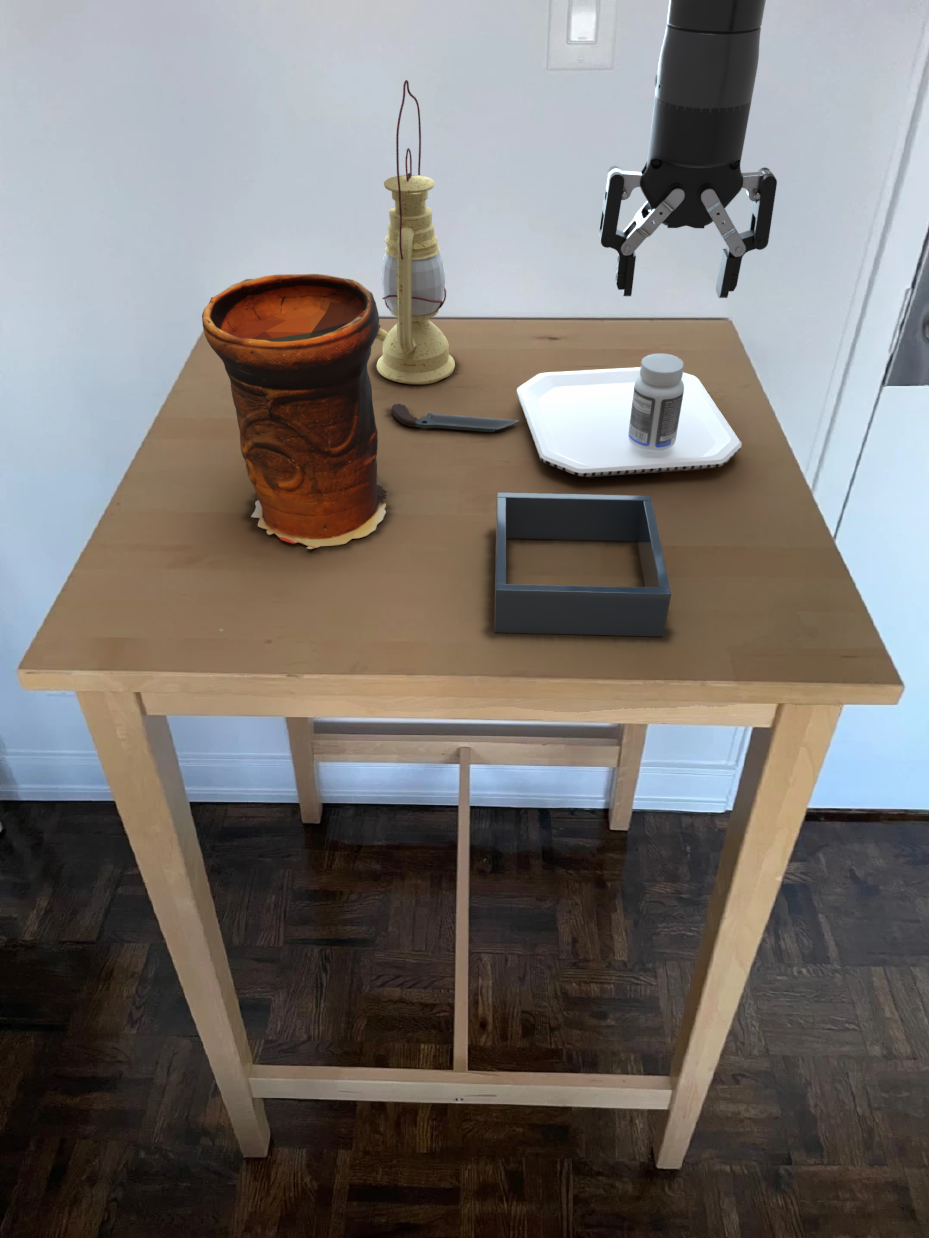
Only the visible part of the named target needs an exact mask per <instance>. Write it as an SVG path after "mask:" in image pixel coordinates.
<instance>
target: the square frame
mask: <svg viewBox="0 0 929 1238" xmlns="http://www.w3.org/2000/svg"><path fill="white" fill-rule="evenodd" d="M495 517H496V518H495V519H496V520H495V563H494V565H495V567H494V570H495V571H494V625H493V626H494V630H493V631H494V633H499V634H501V633H502V634H538V635H539V634H541V635H582V636H585V635H586V636H620V637H624V636H625V637H656V638H657V637H660V638H661V637H664V634H665V628H666V624H667V623H666V622H667V618H668V613H669V608H670V603H671V598H672V591H671V585H670V581H669V576H668V571H667V567H666V561H665V557H664V553H663V548H662V543H661V537H660V533H659V527H658V523H657V517H656V513H655V509H654V502H653V499H652V496H651V495H635V494H633V495H630V494H629V495H628V494H623V495H622V494H588V493H587V494H585V493H583V494H581V493H579V494H578V493H542V492H539V493H537V492H497V493H496V515H495ZM507 539H511V540H512V539H515V540H516V539H517V540H518V539H519V540H556V541H557V540H558V541H559V540H561V541H562V540H563V541H601V542H602V541H603V542H605V541H606V542H637V543H636V544H637V550H638V556H639V561H640V565H641V566H640V567H641V573H642V579H643V584H644V587H643V586H640V587H638V586H602V585H601V586H599V585H598V586H597V585H595V586H594V585H561V584H559V585H557V584H556V585H555V584H552V585H551V584H522V583H521V584H518V583H517V584H515V583H507Z"/></svg>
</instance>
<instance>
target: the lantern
mask: <svg viewBox="0 0 929 1238" xmlns="http://www.w3.org/2000/svg"><path fill="white" fill-rule="evenodd" d="M402 87H403V88H402V100H401V105H400V108H399V111H398V118H397V124H396V135H395V137H396V138H395V140H396V141H395V142H396V143H395V144H396V148H395V149H396V151H395V152H396V176H391V177H388V178H387V179H386V180H384V182H383V186H384V188H385V189H386V190H387V191H390V192H391V199H392V200H393V201H394V206H393V207H391V208H390V209H389V210H388V217H389V223H388V224H387V234H386V236H385V238H384V242H385V243H386V247H385V248H384V252H385V253H384V255H383V257H382V262H381V274H380V283H381V290H382V296H383V297H381V299H382V300H384V305H385V307H386V308H387V309H388V310H389V313H390V314H391V316H393V317H394V318H396V322H397V323H395V324H394V325H393V326H392V328H391V329H390V330H389V331H386V330H385V329H383V328H381V326H382V325H381V324H379V328H378V333H377V336H376V338H375V340H379V341H380V342H381V343H382V355H381V356H380V357H379V358H378V360H377V363H376V371H377V372H378V374H380V375H381V376H382V377H383V378H386V380H390V381H393V382H396V383H401V384H407V385H429V384H434V383H437V382H439V381H441V380H443V379H446V378H448V377H449V376H451V375H452V374H453V373H454V370H455V367H456V364H455V359H454V357H453V356H452V355H451V354H450V352H449V351H450V350H449V349H450V348H449V347H450V346H449V341H448V339H447V337H446V336H445V334H444V333H443V332H442V331H441V329H440V328H439V327H437V325H435V324H434V322H432V321H430V320H429V319H431V318H434V317H435V316H437V315H438V313H439V310H440V309H441V308H442V307H443V305H444V304H445V301H446V299H447V290H446V287H445V285H446V271H445V265H444V259H443V257H442V255H441V253H440V251H441V248H440V246H439V243H438V242H439V237H438V236H437V235H436V234H435V224H434V223H433V210H432V208H431V207H429V206H427V204H426V200H427V201H428V199H429V191H430V190H432V189H433V188H435V184H436V182H435V180H434V179H433V178H431V177H428V176H425V175H421V159H422V157H421V156H422V126H421V124H422V123H421V111H420V105H419V101H418V99H417V98H416V96H415V95H413V93H412V92H411V90H410V84H409V80H407V79H405V80H404V82H403V85H402ZM406 90H407V93H408V95H409V96H410V97H411V98H412V99H413V100H414V102H415V104H416V108H417V118H418V163H417V164H418V165H417V167H418V168H417V174H413V171H412V170H413V167H412V165H413V162H412V152H411V149H410V148H409V147H407V148H406V151H405V152H406V153H405V162H404V163H405V174H401V175H400V159H399V158H400V156H399V155H400V153H399V137H400V136H399V135H400V126H401V125H400V124H401V120H402V119H401V118H402V113H403V109H404V105H405V101H406ZM408 155H409V156H408ZM408 157H409V172H408Z"/></svg>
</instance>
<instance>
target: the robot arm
mask: <svg viewBox="0 0 929 1238" xmlns="http://www.w3.org/2000/svg"><path fill="white" fill-rule="evenodd" d="M668 1H669V2H668V10H667V16H666V17H667V18H666V25H665V32H664V35H663V36H664V37H663V40H662V44H661V49H660V54H659V59H658V65H657V72H656V75H655V77H654V78H655V79H654V87H655V91H654V98H653V99H654V100H653V107H652V119H651V125H650V126H651V127H650V132H649V133H650V135H649V141H648V151H647V158H646V162H645V164H644V166H643V168H642V169H641V171H632V170H631V171H630V170H622V168H621V167H620V166H619V165H612V166H610V167H609V168H608V170H607V174H606V180H605V187H604V195H603V199H602V200H603V201H602V206H601V214H600V221H599V227H598V235H599V240H600V244H601V246H602V247H604V248H606V249H609V248H610V249H613V250H615V251H616V252H617V257H616V266H615V275H614V280H615V284H616V288H617V290H619V291H621V293H622V297H632V293H633V286H634V285H633V284H634V276H635V267H636V260H637V256H636V255H637V254H636V250H637V249H638V248H639V247H640V246H641V245H642V243H643V242H644V241H645V240H646V239H647V238H649V237H651V236H652V235H653V234H654V233H655V231H656V230H657V229H658V228H660V226H661V225H663V226H666V228H667V229H678V228H682V227H688V228H689V227H690V228H693V229H705V227H706V226H709V225H710V224H712V223H713V224H714V225H715V227H716V229H717V230H718V232H719V234H720V236H721V237H722V239H723V241H724V242H725V244H726V247H725V248H722V251H721V257H720V262H719V268H718V274H717V279H716V285H715V292H716V295H717V297H718V299H728V297H729V293H730V292H734V291H735V290H736V288H737V286H738V281H739V276H740V271H741V270H740V269H741V265H742V261H743V257H744V256H745V254H746V253H748V252H751V251H754V250H758V251H762V250H764V249H766V248H767V246H768V245H769V240H770V234H771V227H772V219H773V212H774V206H775V205H774V204H775V199H776V193H777V186H778V180H777V178H776V176H775V174H774V173H773V172H772V171H771V170H770V168H768V167H765V166H764V167H761V168H759V169H758V170H757V171H755V172H754V171H752V172H751V171H749V172H742V170H741V163H742V162H741V161H742V157H743V151H744V145H745V140H746V134H747V128H748V123H749V117H750V113H751V112H750V111H751V106H752V100H753V95H754V94H753V93H754V91H755V84H756V77H757V73H758V66H759V56H760V40H761V32H762V25H763V18H764V12H765V7H766V2H767V0H668ZM636 188H640V191H641V193H642V194H643V196H644V198H645V200H646V201H645V202H644V203H643V205H642V206H641V207H640V208H639V210H638V211H637V212H636V213H635V215H634V216H633V219H632V220H631V221H630V222H629V224H628V225H627V226H626V227H625V229H624V230H623V231H622V230H620V229H618V224H619V218H620V211H621V205H622V201H626V200H628V199H629V198H630V197H631V194H632V192H633V191H634V189H636ZM742 189H745V191H746V196H747V197H748V198H749V200H750V201H751V202H752V205H751V211H750V220H749V227H748V230H746V231H743V232H739V231H738V229H737V228H736V226H735V225H734V223H733V221H732V219H731V217H730V216H729V214H728V212H727V210H726V208H727V207H728V206H729V204H730V203H731V202H732V201H733V200H734V199H735V198H736V197H737V196H738V194H739V193H740V192H741V191H742Z"/></svg>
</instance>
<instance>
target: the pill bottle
mask: <svg viewBox="0 0 929 1238" xmlns="http://www.w3.org/2000/svg"><path fill="white" fill-rule="evenodd" d="M640 367H641V368H640V376H639V377H638V378H637V379H636V381H635V385H634V393H633V400H632V409H631V417H630V425H629V434H628V437H629V440H630V442H631V443H632V444H633V445H634V446H636V447H638V448H640V449H644V450H649V451H662V450H666V449H668V448H670V447H672V446H673V445H674V443H675V440H676V435H677V429H678V423H679V417H680V411H681V405H682V399H683V393H684V384H683V382H682V380H681V379H682V375H683V372H684V367H685V363H684V361H683V360H682V359H681V358H680V357H678V356H676V355H673V354H671V353H670V354H669V353H651V354H648V355H645V356H644V357H643V358H642V359H641V362H640Z"/></svg>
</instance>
